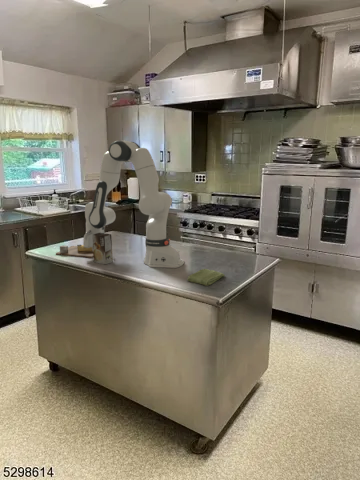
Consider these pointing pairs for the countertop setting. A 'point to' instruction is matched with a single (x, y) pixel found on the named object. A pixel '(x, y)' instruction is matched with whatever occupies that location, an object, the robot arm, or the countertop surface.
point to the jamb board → (74, 252)
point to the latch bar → (83, 248)
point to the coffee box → (102, 248)
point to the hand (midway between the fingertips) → (94, 251)
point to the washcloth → (205, 277)
